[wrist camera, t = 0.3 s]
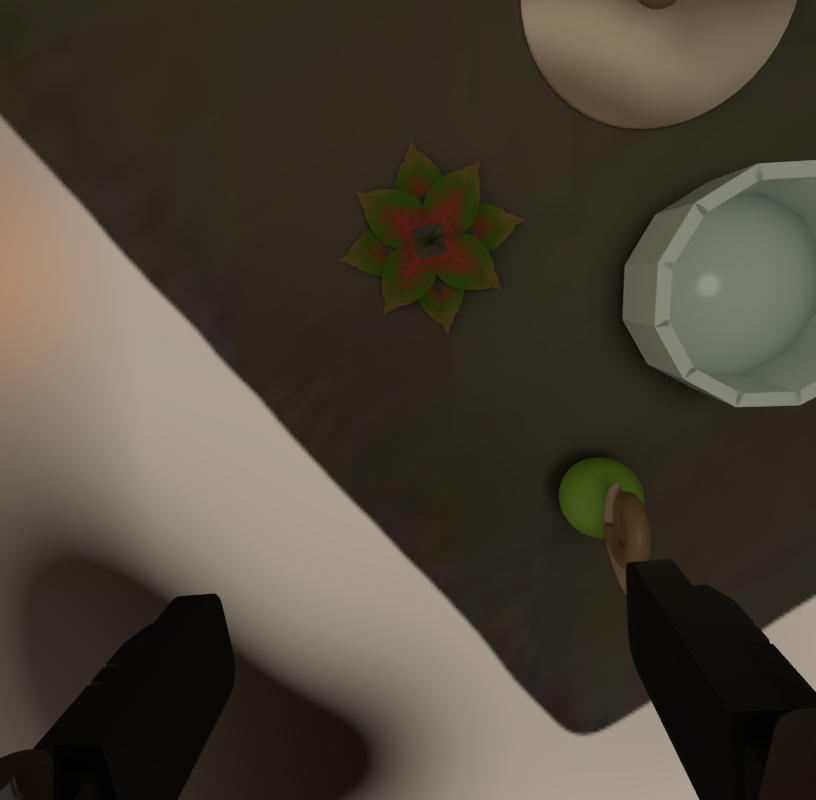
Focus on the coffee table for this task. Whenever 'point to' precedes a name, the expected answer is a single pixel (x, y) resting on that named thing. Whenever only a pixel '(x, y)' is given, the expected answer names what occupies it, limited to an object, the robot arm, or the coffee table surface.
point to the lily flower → (456, 211)
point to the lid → (651, 54)
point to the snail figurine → (608, 509)
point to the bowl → (732, 287)
